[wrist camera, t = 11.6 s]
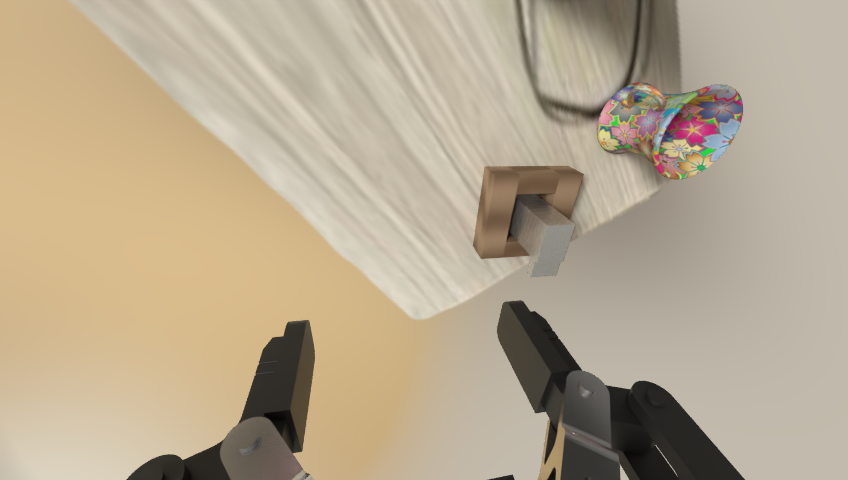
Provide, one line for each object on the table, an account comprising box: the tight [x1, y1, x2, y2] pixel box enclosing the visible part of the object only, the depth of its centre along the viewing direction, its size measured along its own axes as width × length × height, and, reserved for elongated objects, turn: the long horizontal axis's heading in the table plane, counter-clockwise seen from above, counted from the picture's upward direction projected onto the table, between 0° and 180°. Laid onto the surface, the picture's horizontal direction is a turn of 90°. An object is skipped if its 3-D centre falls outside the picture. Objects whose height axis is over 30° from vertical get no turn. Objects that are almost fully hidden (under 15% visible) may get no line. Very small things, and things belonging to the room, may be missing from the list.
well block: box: [473, 166, 584, 259], centre depth 43 cm, size 12×12×4 cm
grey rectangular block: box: [508, 194, 575, 277], centre depth 41 cm, size 7×4×10 cm, turn 177°
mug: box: [597, 83, 743, 179], centre depth 35 cm, size 12×9×11 cm
